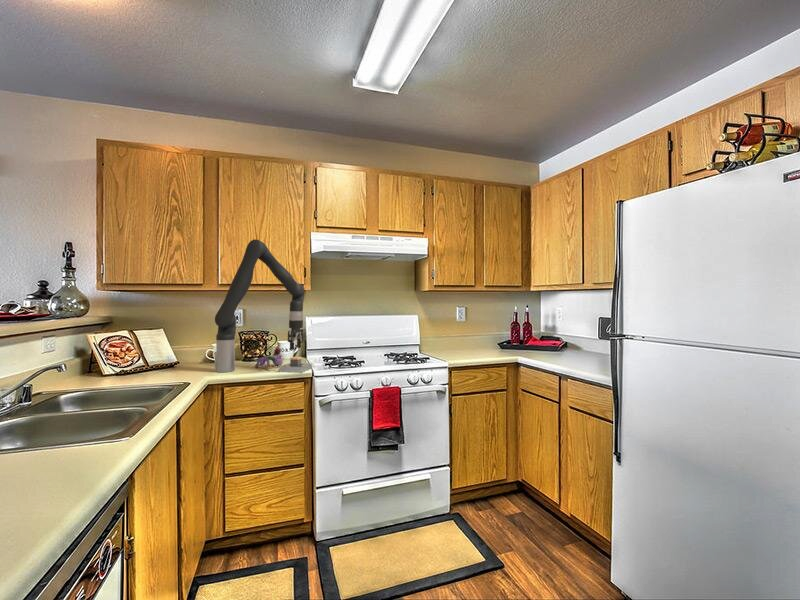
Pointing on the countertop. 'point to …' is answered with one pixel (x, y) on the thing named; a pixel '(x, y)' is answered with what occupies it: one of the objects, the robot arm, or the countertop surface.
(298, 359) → the plug
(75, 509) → the countertop surface
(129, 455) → the countertop surface
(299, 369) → the socket plate
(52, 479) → the countertop surface
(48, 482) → the countertop surface
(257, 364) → the toy
